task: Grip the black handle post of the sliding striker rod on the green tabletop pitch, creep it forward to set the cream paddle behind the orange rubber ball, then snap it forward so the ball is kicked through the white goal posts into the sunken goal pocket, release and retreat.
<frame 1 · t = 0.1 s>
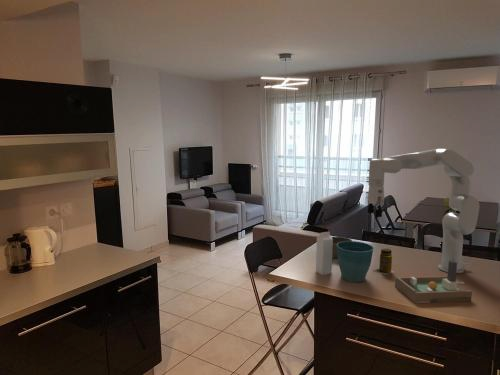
hand: (374, 214, 190), 31 cm above the counter, fingers open, 9 cm apart
pitch: (431, 293, 167), on the counter
ball: (432, 285, 167), point 4 cm above the counter, touching pitch
condiment: (383, 271, 195), on the counter
milk: (323, 272, 193), on the counter
flower pot: (353, 278, 185), on the counter
striker: (455, 274, 167), point 9 cm above the counter, slide at 0.0 cm
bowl: (337, 256, 221), on the counter
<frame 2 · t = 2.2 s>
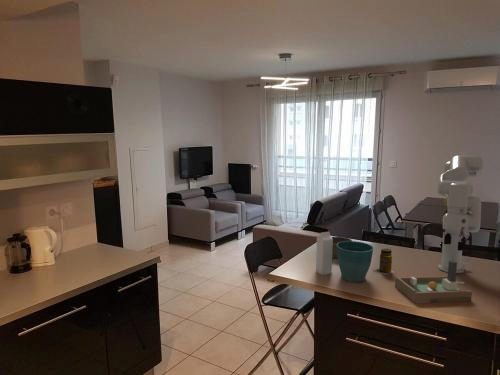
hand: (454, 247, 165), 22 cm above the counter, fingers open, 9 cm apart
nothing on the counter moved.
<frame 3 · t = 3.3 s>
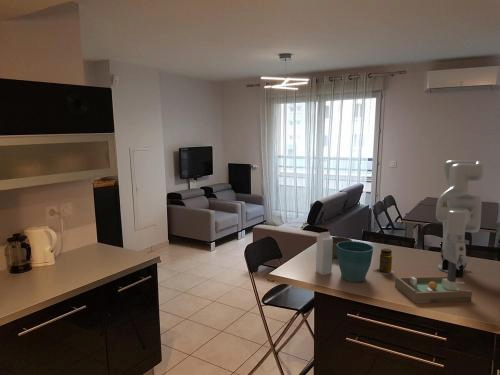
hand: (451, 273, 167), 9 cm above the counter, fingers open, 9 cm apart
nothing on the counter moved.
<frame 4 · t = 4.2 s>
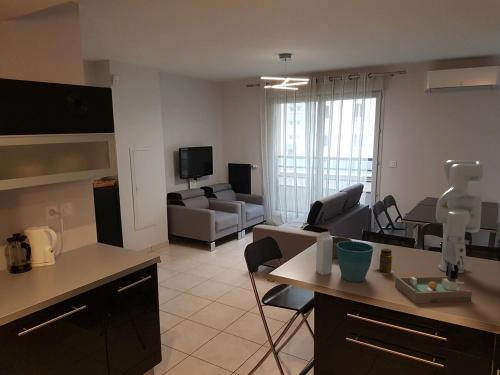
hand: (451, 276, 167), 8 cm above the counter, fingers closed on striker, 2 cm apart
striker: (455, 274, 167), point 9 cm above the counter, slide at 0.0 cm, touching gripper
everything else where it was.
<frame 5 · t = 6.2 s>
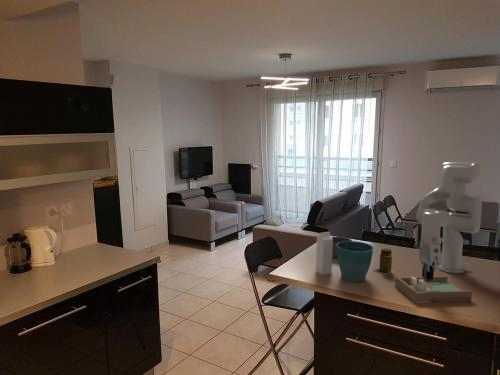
hand: (427, 277, 166), 8 cm above the counter, fingers closed on striker, 2 cm apart
ball: (411, 289, 166), point 2 cm above the counter, tilted 71°, touching pitch
striker: (431, 275, 166), point 9 cm above the counter, slide at 11.8 cm, touching gripper
everything else where it was.
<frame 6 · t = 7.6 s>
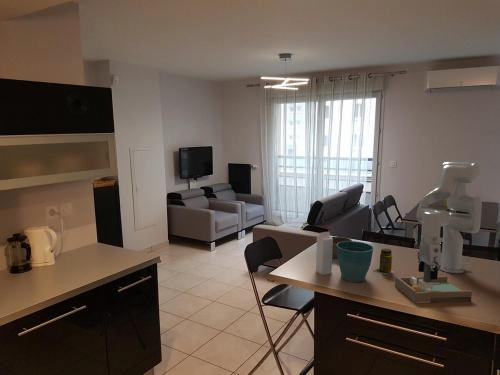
hand: (427, 275, 166), 9 cm above the counter, fingers open, 8 cm apart
ball: (415, 289, 166), point 2 cm above the counter, tilted 122°, touching pitch
striker: (431, 275, 166), point 9 cm above the counter, slide at 11.7 cm
everything else where it was.
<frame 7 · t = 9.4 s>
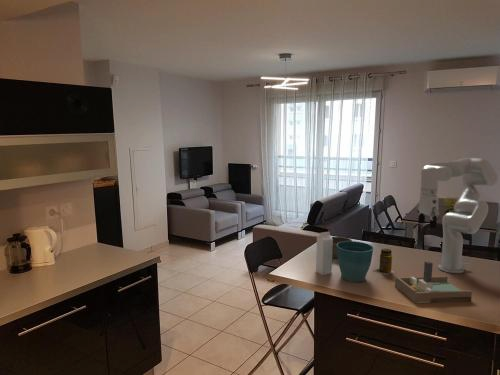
hand: (426, 225, 182), 28 cm above the counter, fingers open, 9 cm apart
ball: (413, 289, 166), point 2 cm above the counter, tilted 98°, touching pitch
everything else where it was.
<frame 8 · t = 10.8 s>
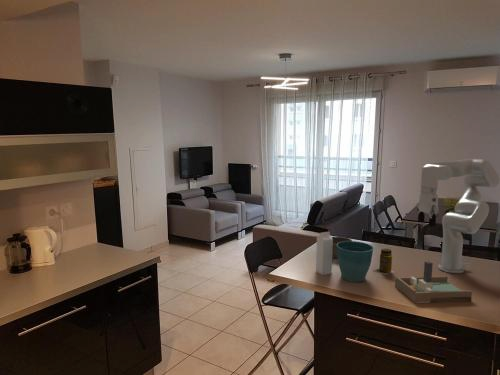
hand: (426, 223, 183), 28 cm above the counter, fingers open, 9 cm apart
ball: (412, 289, 166), point 2 cm above the counter, tilted 80°, touching pitch
everything else where it was.
at the end: ball inside the target area on the pitch (0.1 cm from its centre), point 2.2 cm above the pitch's base; striker slide at 11.7 cm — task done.
